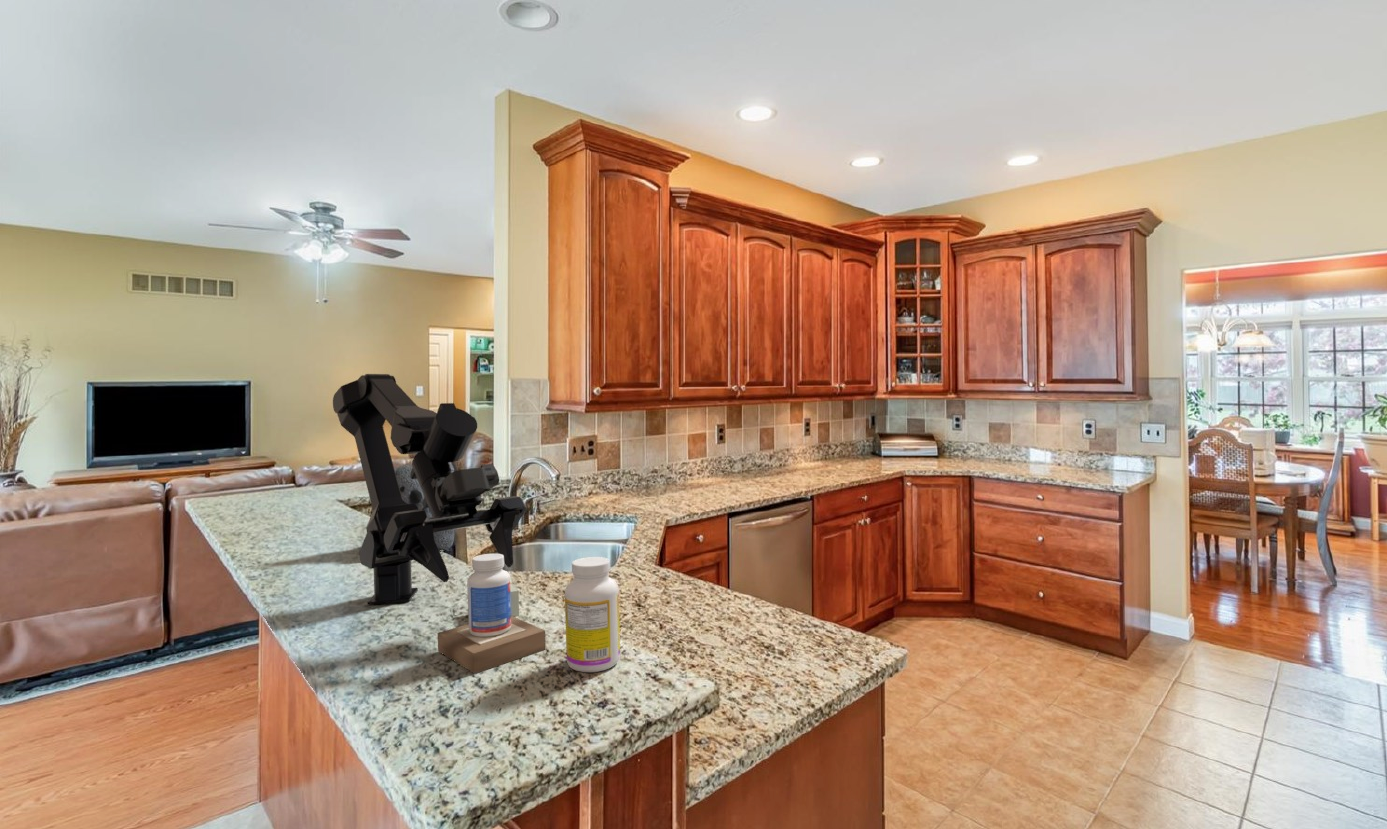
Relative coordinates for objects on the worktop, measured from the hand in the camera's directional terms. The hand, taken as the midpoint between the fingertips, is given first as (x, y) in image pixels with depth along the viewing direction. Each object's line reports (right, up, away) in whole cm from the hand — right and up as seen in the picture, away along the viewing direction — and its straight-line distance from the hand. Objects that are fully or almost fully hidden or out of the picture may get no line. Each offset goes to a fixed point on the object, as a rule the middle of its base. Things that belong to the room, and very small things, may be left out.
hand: (480, 572), depth 85 cm
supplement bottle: (+16, -10, -6) cm, 20 cm away
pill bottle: (+2, -7, -2) cm, 8 cm away
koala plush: (-36, -9, +58) cm, 69 cm away
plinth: (+2, -10, -2) cm, 10 cm away
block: (-1, -10, +13) cm, 16 cm away
